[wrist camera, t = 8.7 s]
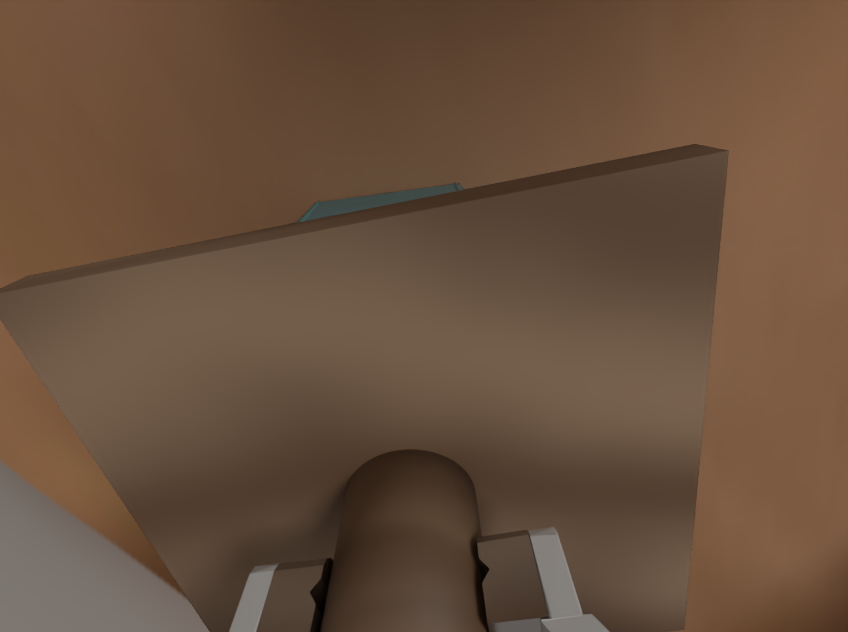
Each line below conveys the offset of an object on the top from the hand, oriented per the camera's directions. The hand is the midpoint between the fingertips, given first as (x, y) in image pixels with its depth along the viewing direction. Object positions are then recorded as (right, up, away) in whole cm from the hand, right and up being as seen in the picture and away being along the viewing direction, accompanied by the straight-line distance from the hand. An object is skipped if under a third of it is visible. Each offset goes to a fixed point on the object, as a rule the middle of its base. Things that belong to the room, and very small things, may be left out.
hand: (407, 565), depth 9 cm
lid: (0, +1, +2) cm, 3 cm away
